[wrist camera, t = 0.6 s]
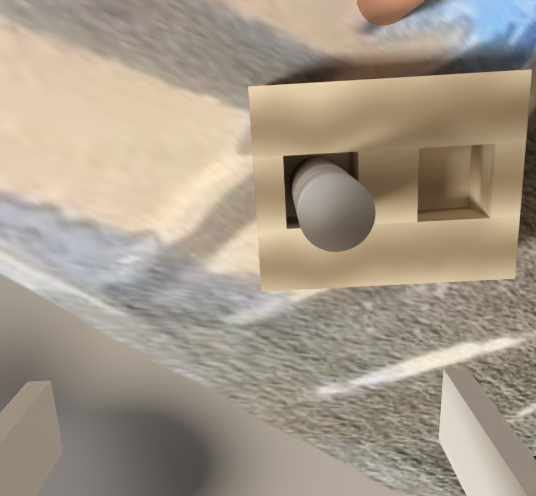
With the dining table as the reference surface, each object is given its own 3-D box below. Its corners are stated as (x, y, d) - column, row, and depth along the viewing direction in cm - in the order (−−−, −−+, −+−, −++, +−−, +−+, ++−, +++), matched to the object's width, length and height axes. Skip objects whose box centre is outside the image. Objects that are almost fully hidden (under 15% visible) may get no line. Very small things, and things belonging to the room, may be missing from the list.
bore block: (251, 90, 37) (240, 78, 24) (490, 76, 37) (618, 55, 23) (262, 266, 41) (258, 342, 27) (480, 254, 40) (584, 326, 27)
